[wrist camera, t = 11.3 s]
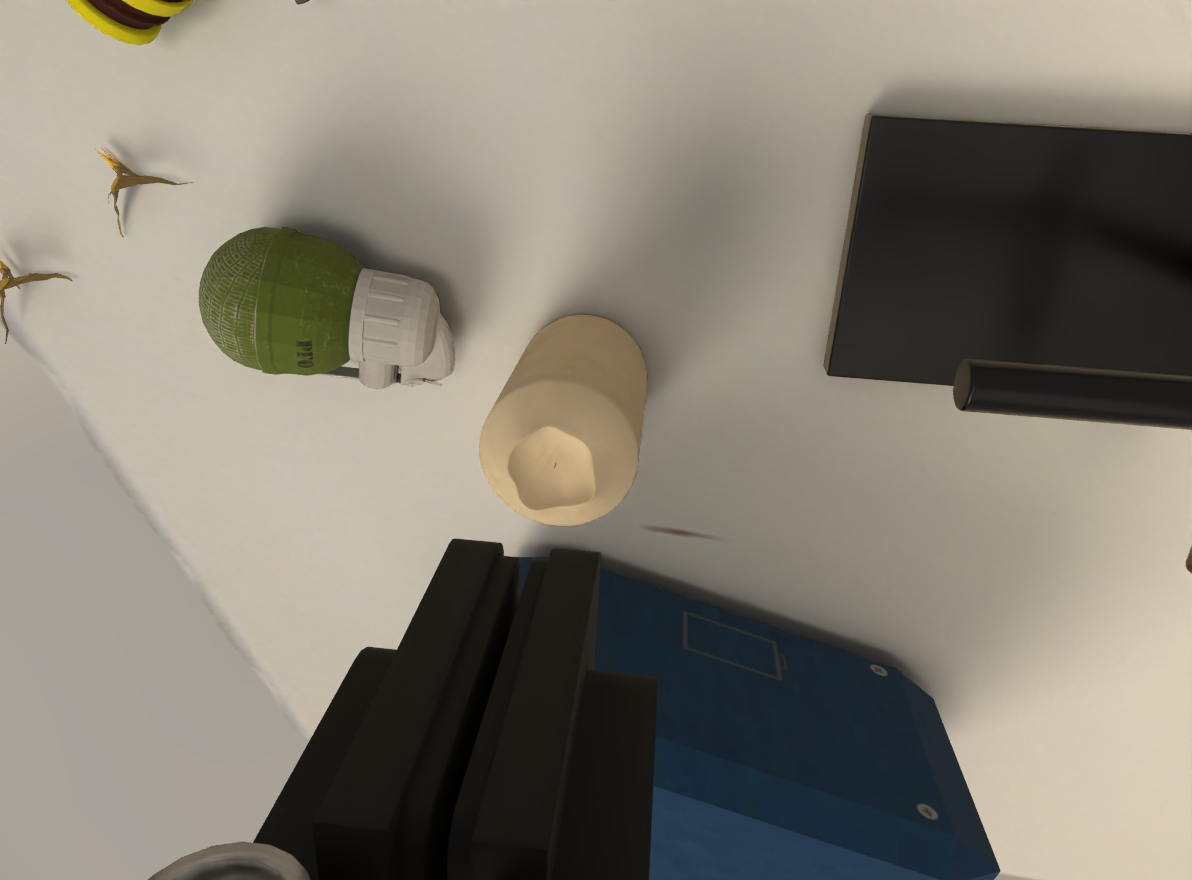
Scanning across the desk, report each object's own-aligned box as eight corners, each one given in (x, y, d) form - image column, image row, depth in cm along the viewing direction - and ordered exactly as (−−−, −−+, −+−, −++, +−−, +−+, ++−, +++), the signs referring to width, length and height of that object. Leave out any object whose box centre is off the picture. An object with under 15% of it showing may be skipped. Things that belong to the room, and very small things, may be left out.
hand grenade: (183, 401, 33) (442, 439, 35) (167, 256, 30) (457, 305, 31) (232, 324, 38) (458, 360, 39) (223, 189, 34) (473, 234, 36)
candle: (673, 362, 37) (670, 460, 27) (599, 455, 39) (573, 575, 30) (568, 286, 36) (528, 362, 27) (498, 386, 38) (438, 487, 29)
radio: (477, 665, 44) (330, 1088, 26) (525, 526, 40) (393, 905, 22) (855, 790, 45) (971, 1284, 27) (934, 665, 41) (1130, 1137, 23)
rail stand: (865, 113, 32) (1027, 156, 17) (1282, 138, 31) (1853, 207, 16) (822, 367, 36) (922, 584, 21) (1190, 396, 35) (1575, 647, 20)
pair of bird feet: (164, 169, 33) (223, 210, 36) (147, 107, 34) (205, 151, 37) (-69, 317, 35) (5, 344, 38) (-79, 253, 36) (-6, 284, 39)
